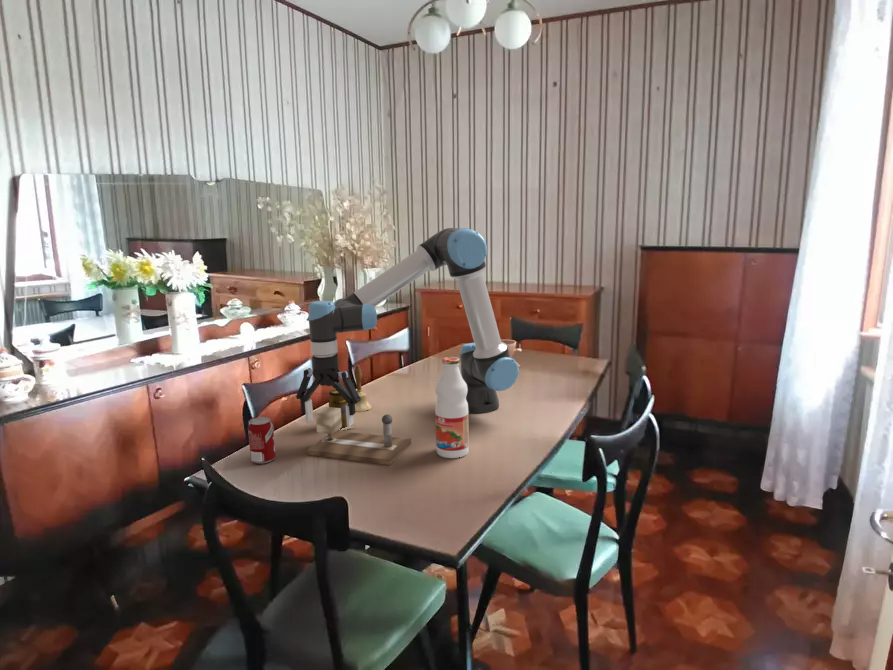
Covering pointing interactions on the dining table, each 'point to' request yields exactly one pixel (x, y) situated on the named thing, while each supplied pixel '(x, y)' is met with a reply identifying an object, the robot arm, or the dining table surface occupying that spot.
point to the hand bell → (360, 393)
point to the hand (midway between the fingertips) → (329, 423)
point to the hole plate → (362, 445)
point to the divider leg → (328, 420)
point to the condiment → (338, 406)
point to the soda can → (261, 440)
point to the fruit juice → (451, 411)
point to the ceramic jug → (511, 348)
